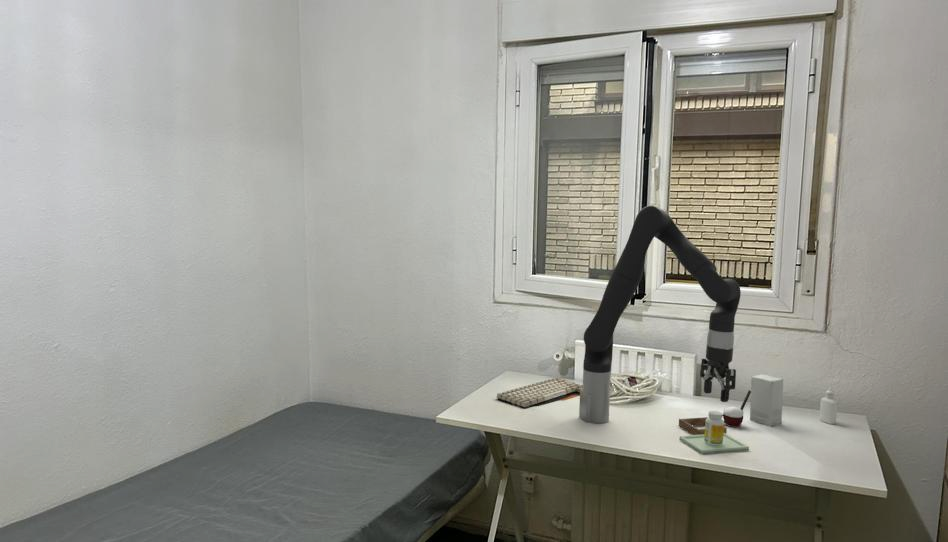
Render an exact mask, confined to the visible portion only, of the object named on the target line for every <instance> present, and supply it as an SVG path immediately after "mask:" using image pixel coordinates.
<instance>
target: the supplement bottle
mask: <svg viewBox="0 0 948 542" xmlns="http://www.w3.org/2000/svg"><path fill="white" fill-rule="evenodd" d="M722 415H723V412H721V411H718V410H708V416H707V417H708V418H707V419H706V422H705V425H704V428H705V434H704V442H705V443H706V444H709V445H713V446H720V445H722V444H723V432H724V427H725V423H724V419H723V416H722Z"/></svg>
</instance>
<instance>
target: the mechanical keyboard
mask: <svg viewBox="0 0 948 542" xmlns="http://www.w3.org/2000/svg"><path fill="white" fill-rule="evenodd" d="M582 389H583V383H582V384H581V383H580V382H579V383H577V382H575V381H571V380H568V379H565V378H561V377H558V376H557V377H555V378H554V377H553V378H549V379H546V380H543V381H542V380H541V381H539V382H536V383H535V382H534V383H531V384H527V385H524V386H521V387H516V388H514V389H510V390H506V391H502V392H499V393H497V395H496V399H495V401H498V402H501V403H503V404H504V403H505V404H507V405H510V406H515V407H518V408H522V409H528V408H534V407H536V408H537V407H541V406H545V405H548V404H551V403H555V402H564V401H567V400H571V399H574V398H577V397H580V390H582ZM534 410H536V409H534ZM534 410H533V411H534Z"/></svg>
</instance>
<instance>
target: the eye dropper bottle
mask: <svg viewBox="0 0 948 542" xmlns="http://www.w3.org/2000/svg"><path fill="white" fill-rule="evenodd" d="M834 394H835V393H834V391H833V390H832V387H828V390H826V391H825V396H824V397H822V398H821V399H820V405H819V407H820V408H819V421H821V422H823V423H826V424H829V425H835V424H837V416H838V415H837V413H838V401H836V399H834V396H835V395H834Z"/></svg>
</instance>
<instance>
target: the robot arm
mask: <svg viewBox="0 0 948 542" xmlns="http://www.w3.org/2000/svg"><path fill="white" fill-rule="evenodd" d="M654 238H656V239H657V240H659V241H660V242H661V243H663V244H665V246H666V247H668V249H670V251H671V252H672V253H673V255H674V256H675V257H676V259H677V260H678V262H679V263H680V264H681V265H682V266H683V268H684V269H685V270H686V271H687V272H688V273H689V274H690V275H691V276H692V277H693V278H694V279H695V280H696V281H697V282H698V284H699V286H700V287H701V288H702V290H703V292H704V293H705V295H707V297H708V298H709V299H710V300H711V301H713V302H715V307H714V309H713V310H712V311H711V312H710V316H709V322H708V332H707V338H706V349H705V358H701V363H700V370H699V371H700V373H699V376H700V378H702V380H703V382H704V383H703V393H704V394H711V393H712V387H713V379H714V378H715V379H717V382H718V383H719V385H720V387H721V389H720V402H722V403H728V402H729V399H730V390H735V389H736V379H737V378H736V377H737V375H736V374H737V370H736V369H735V368H730V363H731V362H733V357H734V356H733V354H734V343H735V335H734V334H735V331H734V330H735V319H736V318H735V317H736V313H737V311H738V307H739V305H740V299H741V286H740V285H739V283H738V282H737V281H736V280H734V279H732V278H723V277H722V276H721V275H720V274H719V273H718V272H717V270H718V269H717V266H716V265H715V263H714V262H712V260H710V258H708V257H707V256H706V255H705V254H704V253H703V252H702V251H701V250H700V249H699V248H698V247H697V246H696V245H695V244H693V243H692V241H690V239H688V238H687V237H686V235H684V233H683V232H682V231H681V229H680V228H679V227H678V226H677V224H676V223H675V221H674V220H673V219H672V217H671V216H670V214H669V213H668V212H667V211H666V210H665V209H663V208H660V207H659V206H655V205H647V206H645V207H642V208H641V209H640V210H639V212H638V213H637V214H636V216H635V219H634V222H633V225H632V228H631V230H630V234H629V236H628V239H627V241H626V244H625V246H624V248H623V250H622V253H620V254H621V255H620V256H619V259H618V262H617V263H616V265H615V267H614V269H613V271H612V273H611V276H610V278H609V280H608V283H607V285H606V288H605V290H604V291H603V295H602V298H601V302H600V304H599V307H598V310H597V311H596V313H595V315H594V317H593V318H592V320H591V322H590V323H589V324H588V327H586V329H585V330H584V334H583V343H584V349H585V350H584V358H583V366H582V367H583V369H582V370H583V371H582V384H583V389H582V390H580V396H579V405H578V406H579V407H578V411H579V412H578V417H579V418H580V419H581V420H583V421H584V422H585V423H592V424H604V423H608V422H609V421H610V402H611V401H610V400H611V399H610V398H611V397H610V396H611V378H612V361H613V352H614V351H613V350H614V349H613V348H614V333H615V329H616V327H617V325H618V322H619V320H620V317H621V316H622V315H623V313H624V311H625V310H626V309H627V307H628V305H629V303H630V302H631V300H632V299H633V297H634V295H635V293H636V291H637V289H638V287H639V284H640V282H641V281H642V278H643V277H644V276H643V275H644V269H645V260H646V257H647V251H648V250H649V247H650V245H651V243H652V241H653V239H654Z"/></svg>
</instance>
